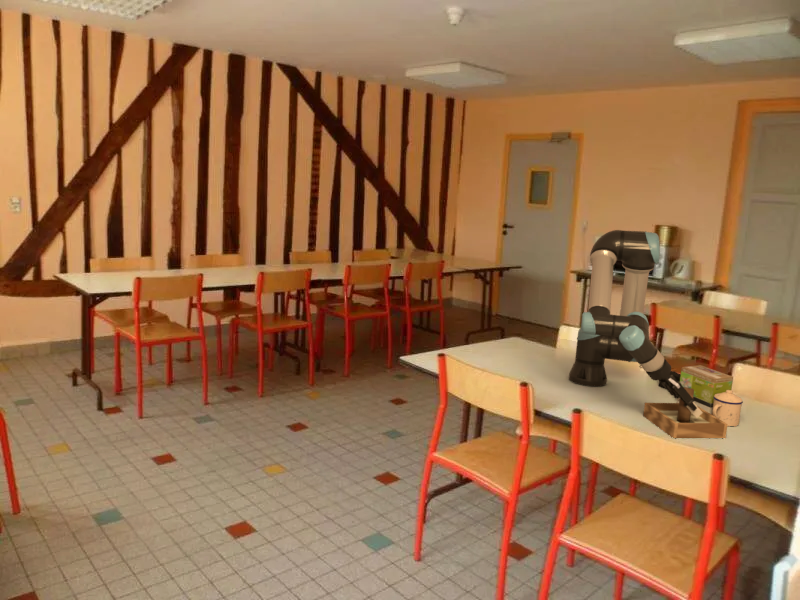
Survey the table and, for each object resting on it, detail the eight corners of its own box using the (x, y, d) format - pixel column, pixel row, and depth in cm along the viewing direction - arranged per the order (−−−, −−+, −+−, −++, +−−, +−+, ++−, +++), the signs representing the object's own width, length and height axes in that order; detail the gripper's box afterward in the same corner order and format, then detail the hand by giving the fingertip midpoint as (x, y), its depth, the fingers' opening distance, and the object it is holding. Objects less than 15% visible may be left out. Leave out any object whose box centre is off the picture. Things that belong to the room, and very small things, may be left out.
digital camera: (688, 393, 250) (690, 376, 249) (678, 394, 248) (680, 377, 246) (668, 385, 259) (670, 369, 258) (658, 386, 257) (660, 370, 256)
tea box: (675, 403, 236) (680, 366, 234) (695, 401, 240) (700, 364, 238) (709, 417, 223) (714, 377, 220) (728, 414, 227) (734, 375, 224)
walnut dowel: (674, 420, 213) (678, 387, 211) (685, 420, 214) (689, 387, 212) (680, 425, 210) (685, 390, 207) (691, 425, 210) (696, 391, 208)
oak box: (643, 416, 221) (644, 402, 220) (691, 416, 223) (692, 403, 222) (673, 438, 201) (675, 423, 200) (725, 438, 203) (727, 424, 202)
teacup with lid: (720, 416, 225) (724, 385, 223) (744, 424, 217) (749, 392, 215) (699, 421, 219) (704, 389, 216) (724, 430, 211) (729, 397, 209)
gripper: (634, 365, 215) (673, 411, 220) (659, 380, 199) (701, 429, 203) (650, 350, 215) (689, 396, 220) (677, 364, 198) (718, 414, 203)
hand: (695, 412), depth 211 cm, fingers closed on walnut dowel, 4 cm apart
